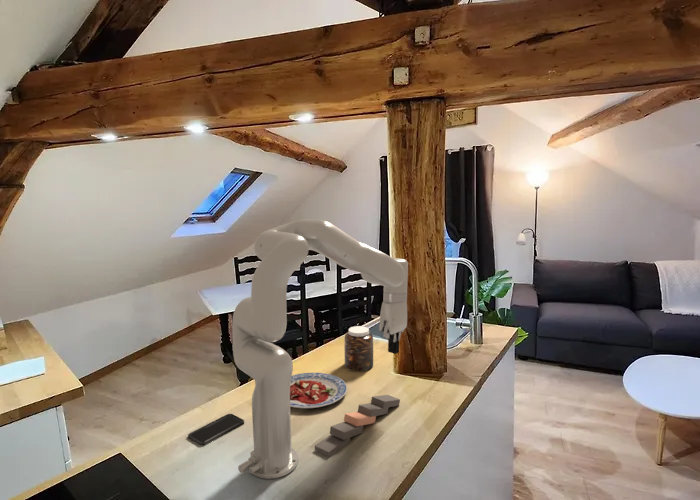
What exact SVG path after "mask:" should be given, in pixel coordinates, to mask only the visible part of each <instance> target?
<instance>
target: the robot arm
mask: <svg viewBox="0 0 700 500" xmlns="http://www.w3.org/2000/svg"><path fill="white" fill-rule="evenodd" d="M253 249H254V253H255V255H256V256H257V258H258V259H259V260H261V261H260V263H259V264H258V266H257V267H256V269H255V271H254V273H253V276H252V278H251V291H250V292H251V293H250V296H248V297H245V298H244V299H242V300H241V301H239V302H238V304H237V305H236V307H235V309H234V311H233V314H232V320H231V321H232V323H231V324H232V325H231V326H232V353H233V354H232V356H233V360H234V363H235V366H236V367H237V368H238V369H239V370H240V371H242V372H243V373H245V374H246V375H248V376H249V377H250V378H251V379H253V380H254V382H255V386H254V388H253V392H252V396H251V413H252V414H251V415H252V434H253V435H252V437H253V450H251V451H250V457H249V458H248V459H247V460H246V461H243V463H241V464H239V465H238V466H237V469H238V472H239V473H240V474H243V473H245V472H246V471H248V470H249V474H251V475H254V476H255V477H257V478H260V479H265V480H266V479H267V480H271V479H276V478H277V479H278V478H282V477H284V476H286V475H288V474H289V473H291V472H292V471H294V470H295V468H297V465H298V462H299V455H298V453H297V451H296V450H295V449H294V448H293V447H292V420H291V417H292V416H291V407H290V383H291V377H292V375H293V371H294V369H293V367H294V366H293V360H292V357H291V356H290V354H289V353H288V352H287V351H286V350H285V349H284V348H282V347H280V346H279V345H276V344H274V343H275V342H278V341H280V340H281V339H282V338H283V337H284V336H285V334H286V329H287V325H288V323H287V322H288V318H287V317H288V316H287V311H288V309H287V290H288V283H289V280H290V278H291V276H292V274H293V273H294V272H295V271H296V270H297V269H298V268H299V267H300V266H301V265H302V264H303V263H304V262H305V260H306V259H307V258H308V255H309V251H314V252H316V253H318V254H319V255H321V256H323V257H325V258H327V259H329V260H330V261H332V262H333V263H336V264H337V265H338V266H340V267H342V268H344V269H348V270H350V271H354V272H357V273H360V276H361V278H362V279H363V280H364V281H366V282H367V283H369V284H371V285H372V284H374V285H377V286H383V298H382V299H383V301H382V303H381V308H380V312H379V313H380V314H379V327H378V328H379V329H378V330H379V332H380V333H383V337H382V338H384V339H386V340H387V341H388V343H387V345H388V346H387V352H388V353H391V354H394V355H397V354H399V352H400V340H401V336H402V333H403V332H404V331H405V329H407V326H408V304H407V303H408V280H409V277H408V276H409V275H408V274H409V273H408V272H409V263H408V262H409V261H407V260H406V259H405V258H400V257H399V258H398V257H397V258H396V257H392V256H390V255H388V254H386V253H384V252H382V251H381V250H378V249H375V248H374V247H371V246H369V245H368V244H365V243H363V242H360V241H358V240H357V239H355V238H354V237H352V236H351V235H349V234H348V233H346V232H344V231H343V230H342V229H340V228H339V227H337V226H336V225H334V224H333V223H331V222H329V221H327V220H323V219H312V218H301V219H298V220H295V221H291V222H288V223H285V224H282V225H278V226H276V227H273V228H270V229H266V230H264V231H262V232H261V233H260V234H259V235H258V236H257V238H256V239H255V241H254V248H253Z"/></svg>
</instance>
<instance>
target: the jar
mask: <svg viewBox="0 0 700 500" xmlns="http://www.w3.org/2000/svg"><path fill="white" fill-rule="evenodd" d="M343 350H344V368H345V369H347V371H350V372H357V373H358V372H359V373H360V372H367V371H369V370H372V368H374V336H373V333H371V332H370V329H369V328H368V327H367V326H362V325H354V326H351V327H349V328H348V331H347V332H346V333H345V334H344V349H343Z"/></svg>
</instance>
